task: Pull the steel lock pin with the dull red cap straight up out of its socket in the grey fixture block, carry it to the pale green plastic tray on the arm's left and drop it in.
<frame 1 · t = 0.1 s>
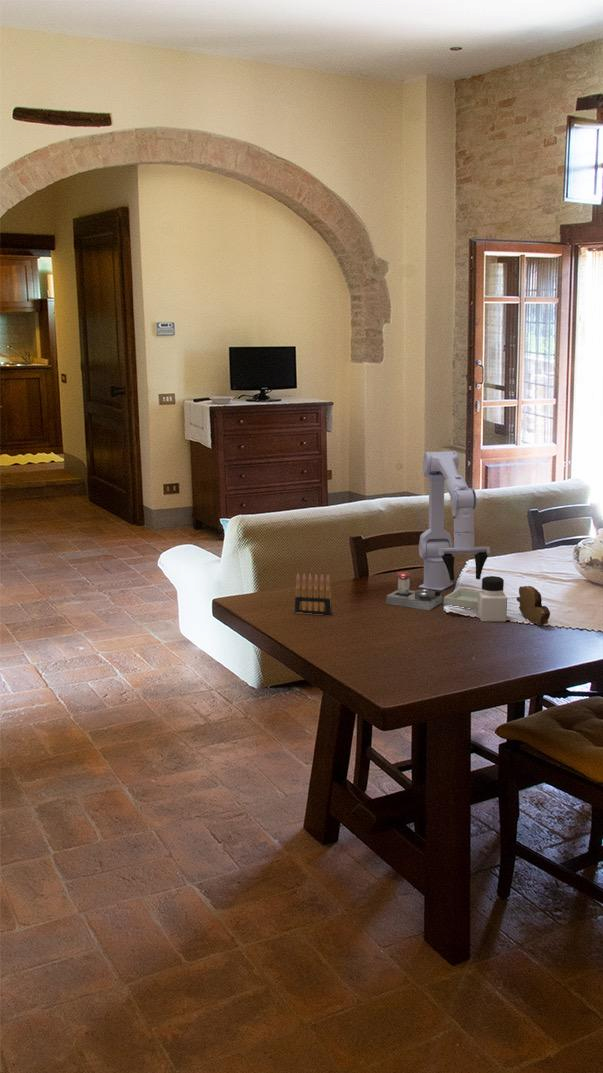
hand: (465, 579, 281), 11 cm above the table, tool pointing down, fingers open, 7 cm apart
ammunition clip: (313, 614, 286), on the table
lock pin: (403, 601, 298), resting in grey fixture block
wooden carving: (532, 622, 277), on the table
medicine bottle: (491, 618, 281), on the table
tray: (468, 603, 295), on the table
grey fixture block: (414, 603, 296), on the table
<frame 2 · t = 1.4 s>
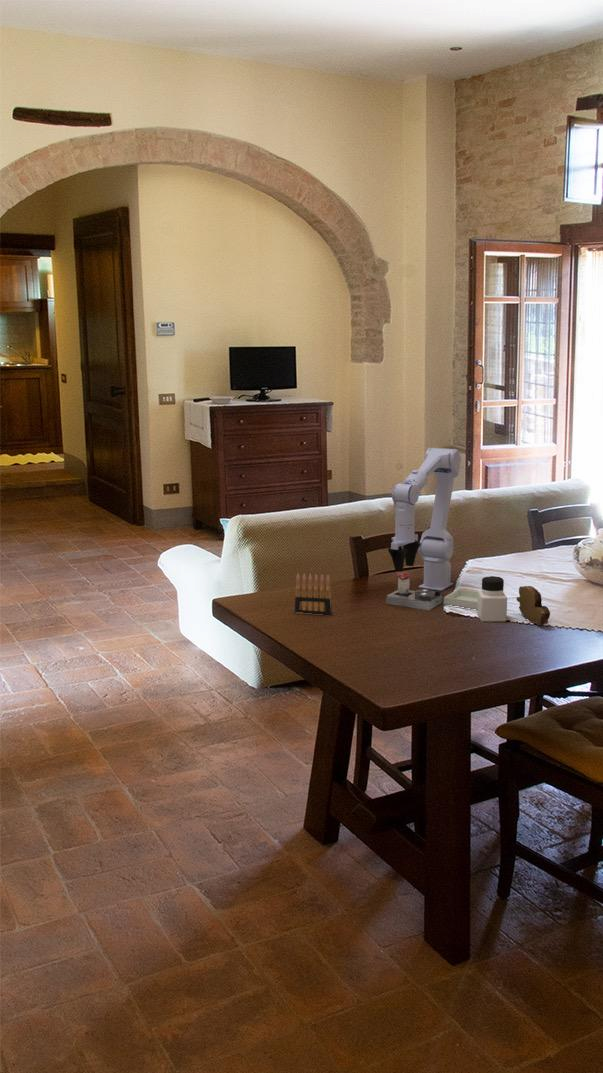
hand: (404, 568, 295), 10 cm above the table, tool pointing down, fingers open, 7 cm apart
nothing on the table moved.
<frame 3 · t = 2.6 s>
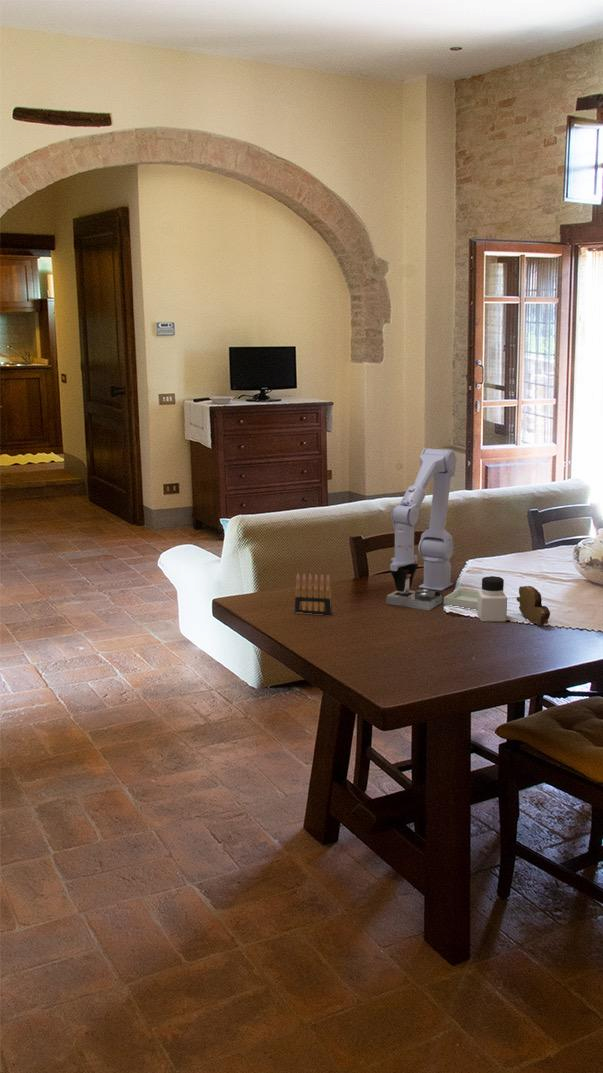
hand: (403, 589, 297), 4 cm above the table, tool pointing down, fingers closed on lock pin, 4 cm apart
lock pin: (403, 601, 298), resting in grey fixture block, touching gripper
everything else where it was.
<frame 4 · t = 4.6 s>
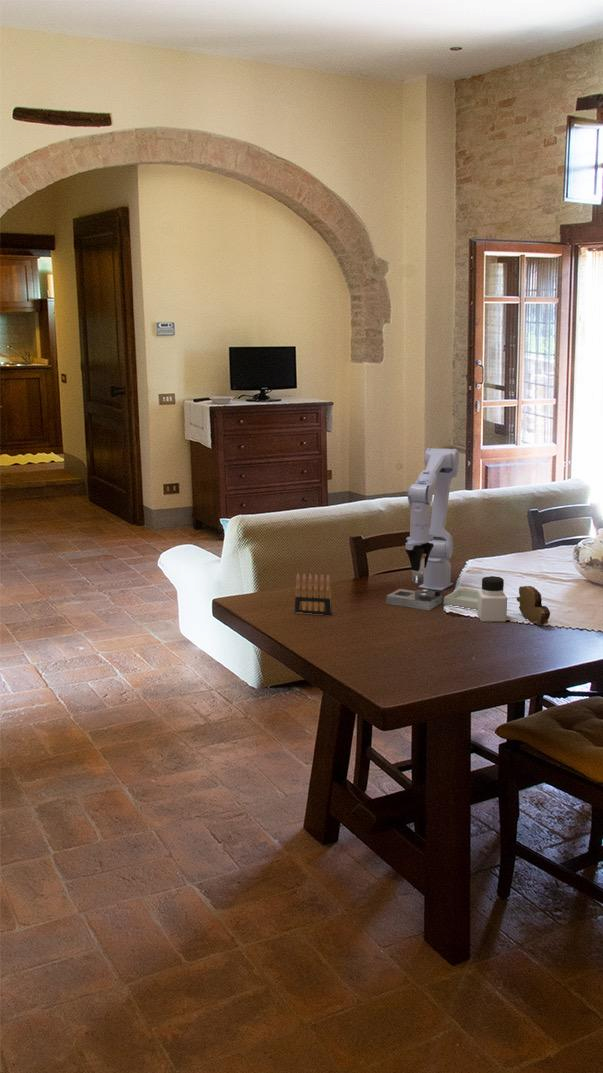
hand: (419, 568, 295), 10 cm above the table, tool pointing down, fingers closed on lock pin, 4 cm apart
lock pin: (417, 581, 296), point 6 cm above the table, touching gripper
everything else where it was.
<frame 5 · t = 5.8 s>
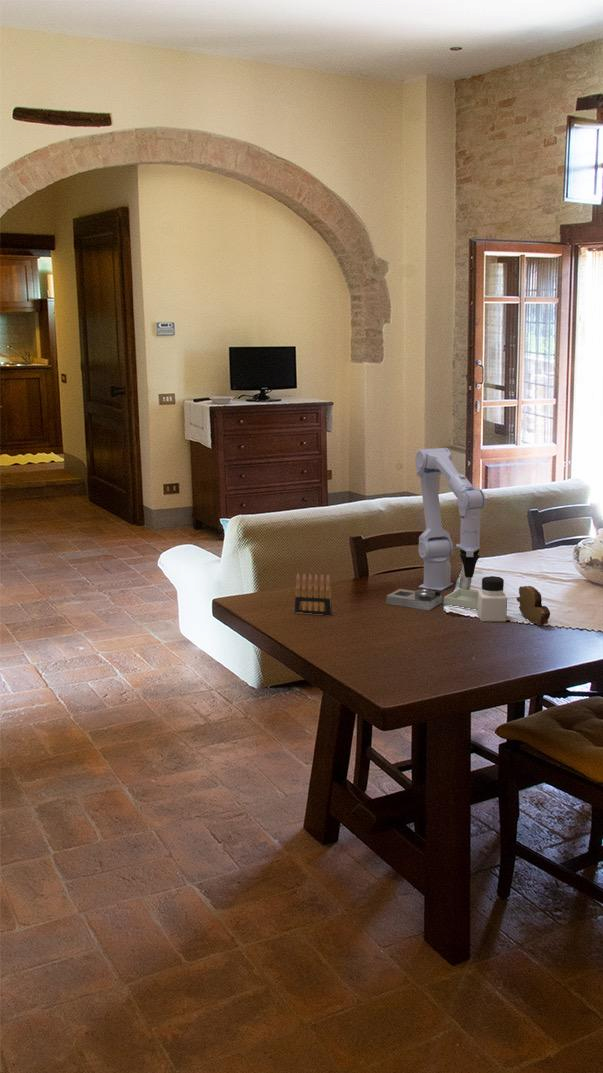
hand: (468, 575, 293), 9 cm above the table, tool pointing down, fingers closed on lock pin, 4 cm apart
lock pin: (464, 588, 294), point 5 cm above the table, tilted 8°, touching gripper
everything else where it was.
when the fingers open (5 cm above the table, at t = 6.7 s): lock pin stays where it is, resting on tray.
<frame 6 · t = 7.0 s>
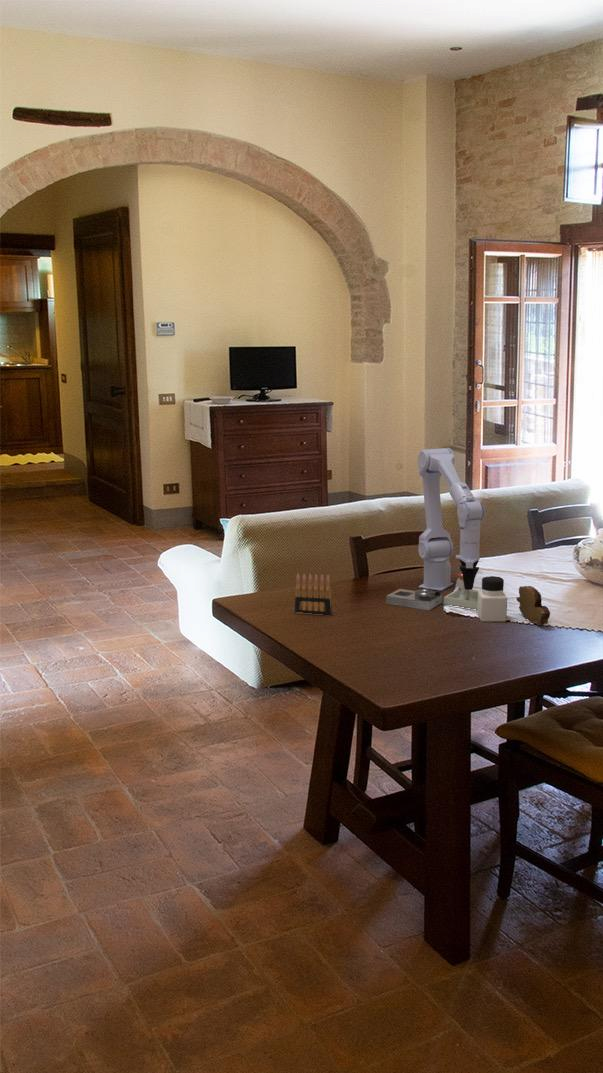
hand: (468, 586, 294), 5 cm above the table, tool pointing down, fingers open, 7 cm apart
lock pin: (463, 601, 295), point 1 cm above the table, touching tray
everything else where it was.
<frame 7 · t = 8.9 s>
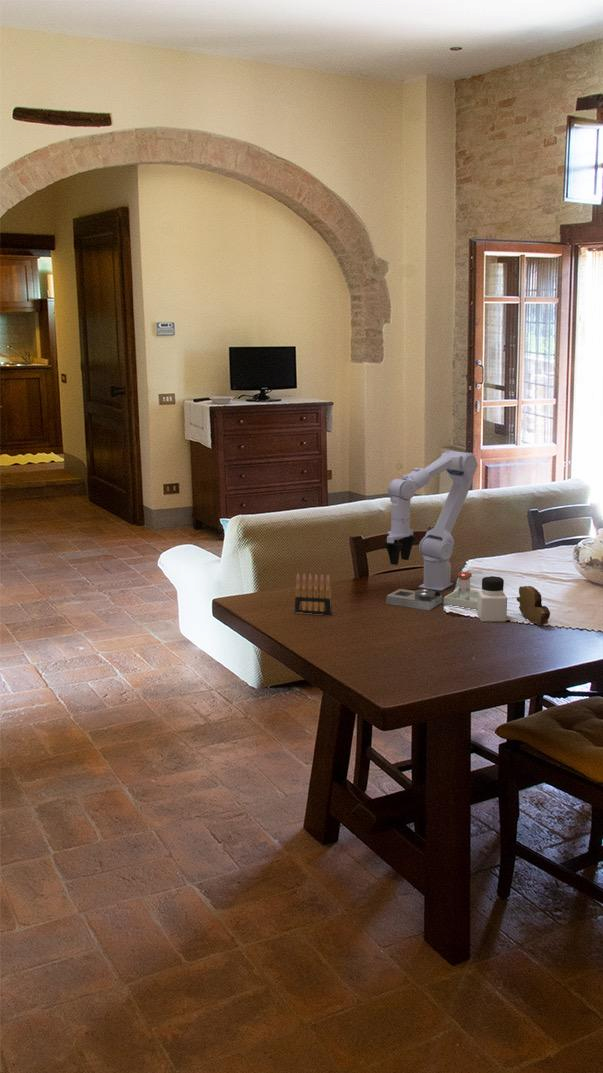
hand: (399, 562, 303), 10 cm above the table, tool pointing down, fingers open, 7 cm apart
nothing on the table moved.
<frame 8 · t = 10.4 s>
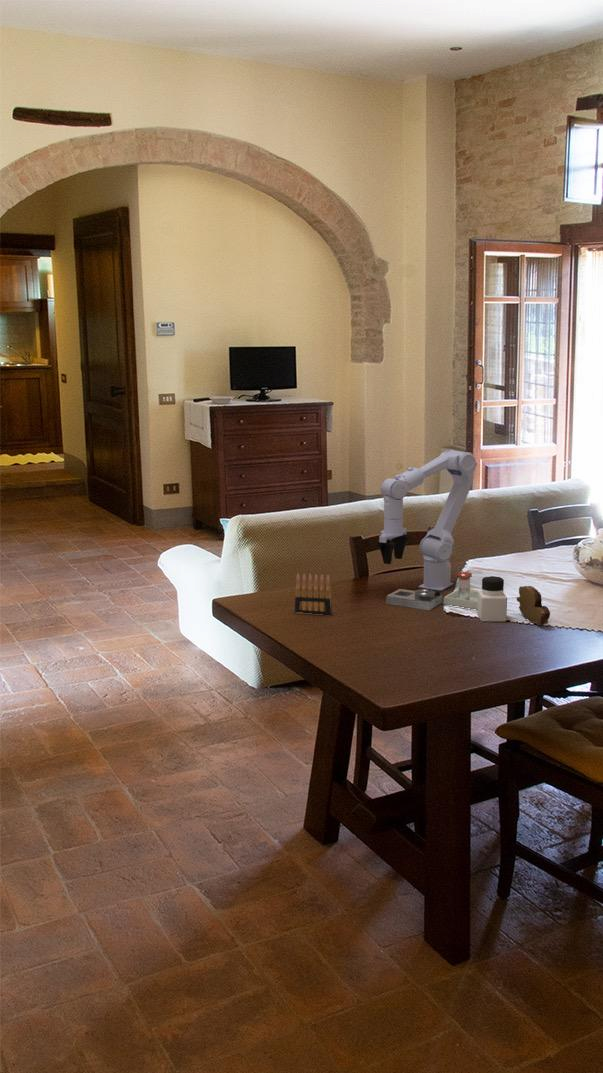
hand: (392, 561, 305), 10 cm above the table, tool pointing down, fingers open, 7 cm apart
nothing on the table moved.
at the end: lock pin inside the target area on the tray (1.3 cm from its centre), point 0.5 cm above the tray's base; the gripper is holding nothing; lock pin moved 18.0 cm from its start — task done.
